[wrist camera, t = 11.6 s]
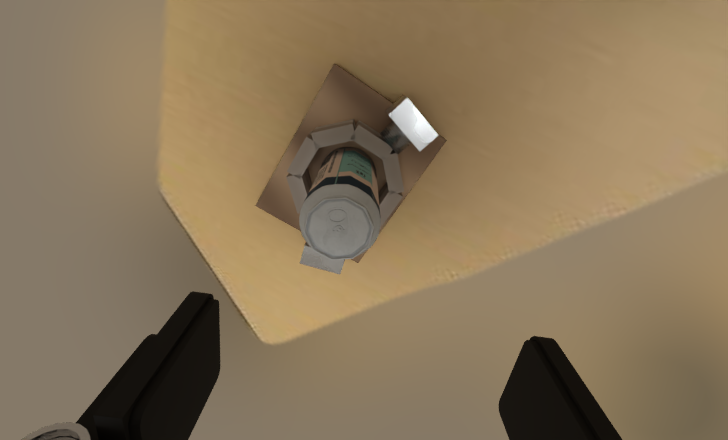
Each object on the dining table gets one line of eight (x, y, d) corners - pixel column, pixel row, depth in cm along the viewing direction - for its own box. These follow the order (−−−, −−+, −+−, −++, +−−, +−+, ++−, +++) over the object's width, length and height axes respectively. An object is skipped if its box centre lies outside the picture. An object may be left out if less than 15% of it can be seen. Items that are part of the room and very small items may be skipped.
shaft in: (401, 154, 30) (405, 163, 27) (373, 122, 29) (374, 128, 26) (430, 128, 29) (438, 135, 26) (402, 94, 28) (407, 97, 25)
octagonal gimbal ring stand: (335, 63, 29) (330, 62, 25) (443, 137, 31) (454, 147, 27) (259, 201, 33) (245, 218, 29) (358, 257, 35) (357, 279, 32)
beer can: (324, 201, 32) (302, 269, 21) (317, 148, 30) (289, 193, 19) (377, 196, 32) (384, 263, 21) (374, 143, 30) (378, 185, 19)
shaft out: (314, 215, 32) (308, 231, 29) (352, 226, 33) (350, 242, 30) (306, 245, 34) (299, 263, 30) (342, 255, 34) (339, 274, 31)
